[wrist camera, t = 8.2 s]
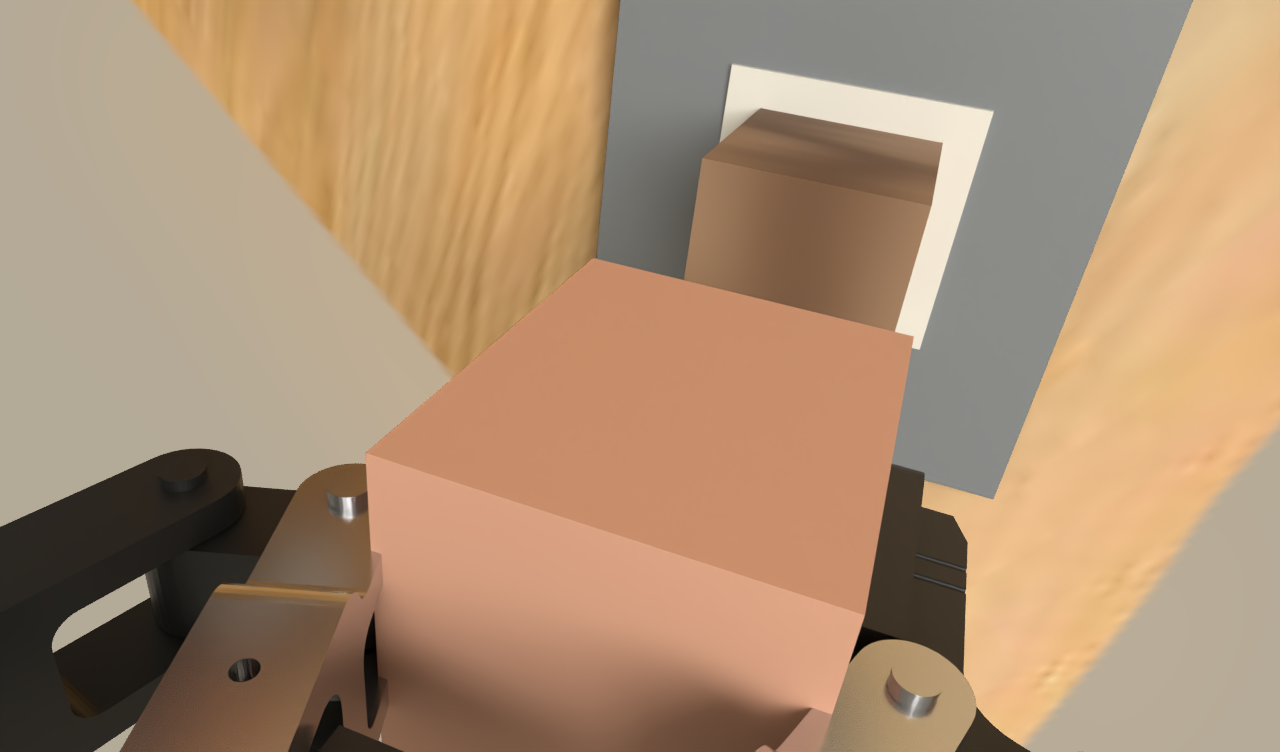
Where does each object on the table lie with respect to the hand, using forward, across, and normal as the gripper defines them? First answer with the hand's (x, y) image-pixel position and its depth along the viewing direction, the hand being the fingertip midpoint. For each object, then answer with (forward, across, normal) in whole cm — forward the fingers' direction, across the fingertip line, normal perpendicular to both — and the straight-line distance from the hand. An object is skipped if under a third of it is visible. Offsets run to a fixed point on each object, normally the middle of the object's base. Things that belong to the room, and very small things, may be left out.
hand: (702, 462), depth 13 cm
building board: (+15, 0, 0) cm, 15 cm away
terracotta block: (+1, 0, 0) cm, 1 cm away
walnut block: (+14, 0, 0) cm, 14 cm away
